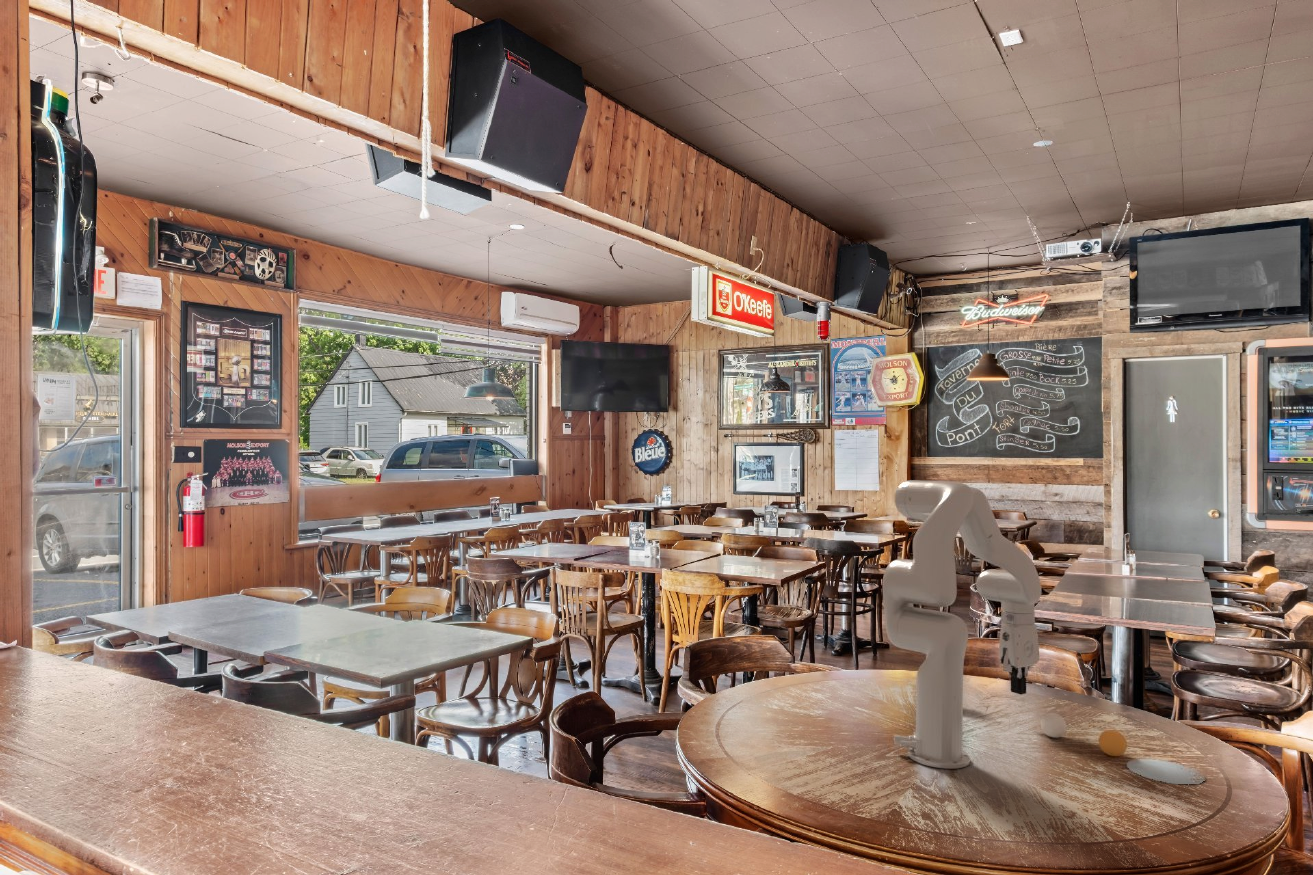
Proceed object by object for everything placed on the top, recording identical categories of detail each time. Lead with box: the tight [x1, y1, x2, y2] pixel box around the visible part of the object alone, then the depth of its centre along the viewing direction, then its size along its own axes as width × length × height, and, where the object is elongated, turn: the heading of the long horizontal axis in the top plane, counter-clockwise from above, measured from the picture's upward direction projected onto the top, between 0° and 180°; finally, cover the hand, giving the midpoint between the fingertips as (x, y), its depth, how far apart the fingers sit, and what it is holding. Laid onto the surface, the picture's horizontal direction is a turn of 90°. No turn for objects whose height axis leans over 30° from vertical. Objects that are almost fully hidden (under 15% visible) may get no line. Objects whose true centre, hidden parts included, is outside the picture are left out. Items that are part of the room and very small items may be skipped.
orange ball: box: [1098, 729, 1128, 757], centre depth 182 cm, size 6×6×6 cm
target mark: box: [1126, 758, 1206, 786], centre depth 172 cm, size 14×14×1 cm
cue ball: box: [1040, 712, 1067, 739], centre depth 194 cm, size 6×6×6 cm
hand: (1018, 692), depth 202 cm, fingers closed
